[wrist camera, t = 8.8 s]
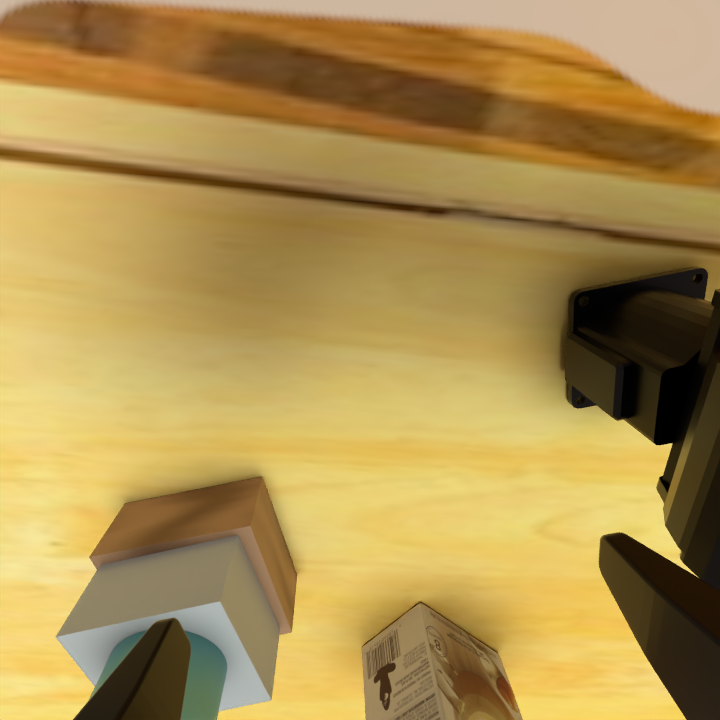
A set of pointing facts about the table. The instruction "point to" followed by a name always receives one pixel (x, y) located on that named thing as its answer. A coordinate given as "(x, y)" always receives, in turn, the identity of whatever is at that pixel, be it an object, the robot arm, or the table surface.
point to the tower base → (209, 534)
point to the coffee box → (434, 673)
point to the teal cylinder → (201, 678)
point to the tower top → (182, 612)
